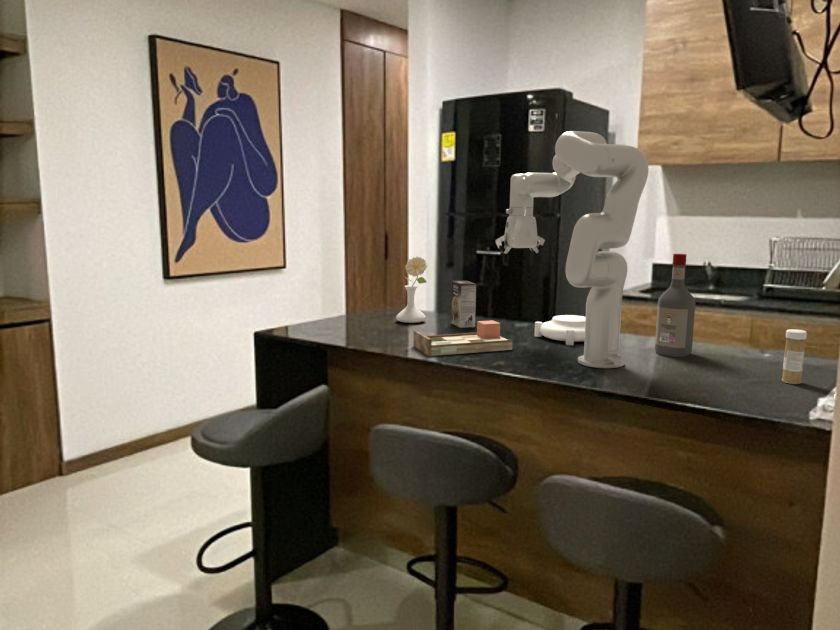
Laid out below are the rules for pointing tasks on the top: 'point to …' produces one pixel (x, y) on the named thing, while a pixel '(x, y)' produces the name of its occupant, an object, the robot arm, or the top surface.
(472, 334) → the board
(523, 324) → the top surface
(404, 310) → the flower in vase
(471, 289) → the coffee box
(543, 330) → the round stand with pegs
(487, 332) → the block
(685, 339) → the liquor
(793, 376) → the sprinkles bottle
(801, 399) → the top surface
